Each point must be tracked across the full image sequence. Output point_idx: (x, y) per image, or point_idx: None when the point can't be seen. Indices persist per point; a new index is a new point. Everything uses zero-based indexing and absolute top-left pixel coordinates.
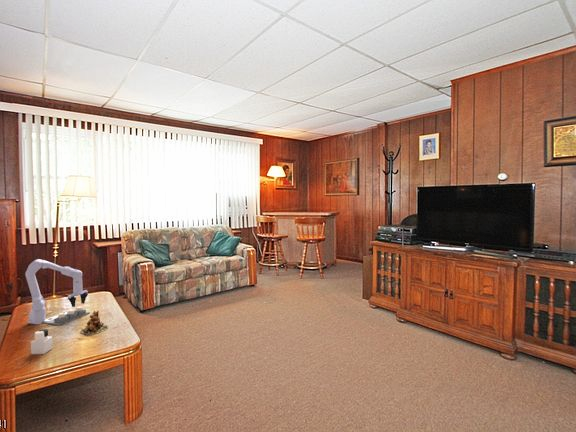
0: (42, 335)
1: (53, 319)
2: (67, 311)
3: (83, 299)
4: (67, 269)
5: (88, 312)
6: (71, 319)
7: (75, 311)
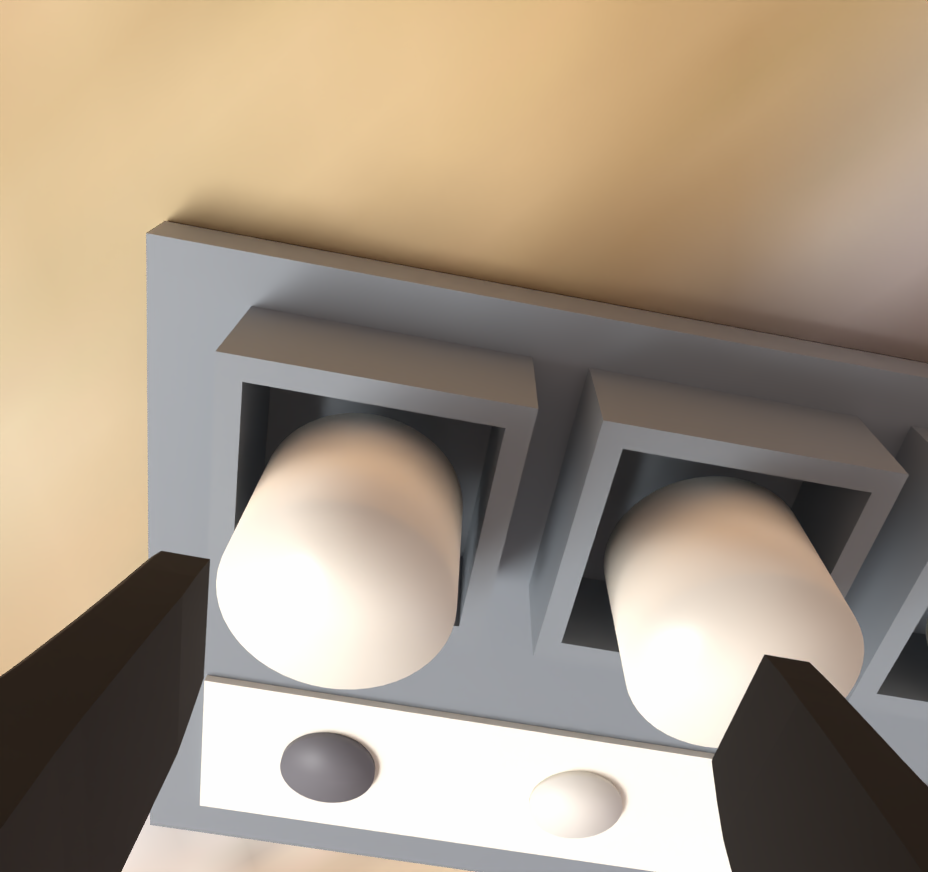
0: None
1: None
2: None
3: (80, 792)
4: None
5: (181, 252)
6: (871, 365)
7: None
